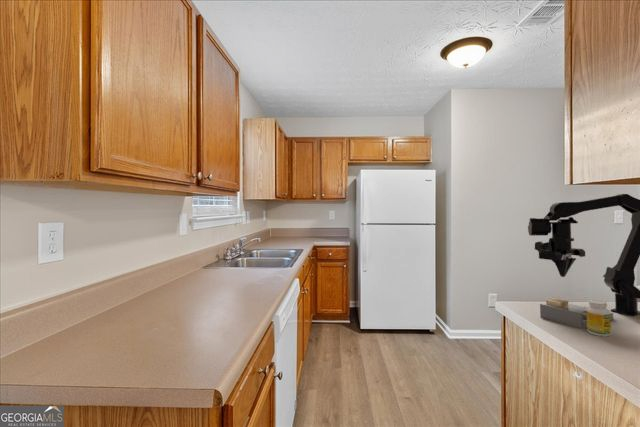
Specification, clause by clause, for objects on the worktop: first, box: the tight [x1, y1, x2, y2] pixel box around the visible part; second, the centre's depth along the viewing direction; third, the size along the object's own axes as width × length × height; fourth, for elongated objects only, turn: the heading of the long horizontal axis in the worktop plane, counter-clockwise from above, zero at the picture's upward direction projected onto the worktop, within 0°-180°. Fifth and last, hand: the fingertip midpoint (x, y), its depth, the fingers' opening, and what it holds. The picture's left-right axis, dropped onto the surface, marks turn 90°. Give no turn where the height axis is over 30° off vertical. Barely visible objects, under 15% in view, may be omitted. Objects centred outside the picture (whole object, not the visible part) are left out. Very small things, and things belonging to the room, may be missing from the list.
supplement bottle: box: [586, 299, 612, 337], centre depth 95 cm, size 5×5×10 cm
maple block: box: [545, 297, 569, 310], centre depth 109 cm, size 4×4×4 cm
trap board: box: [539, 303, 614, 329], centre depth 108 cm, size 18×12×4 cm
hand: (562, 276), depth 119 cm, fingers closed
